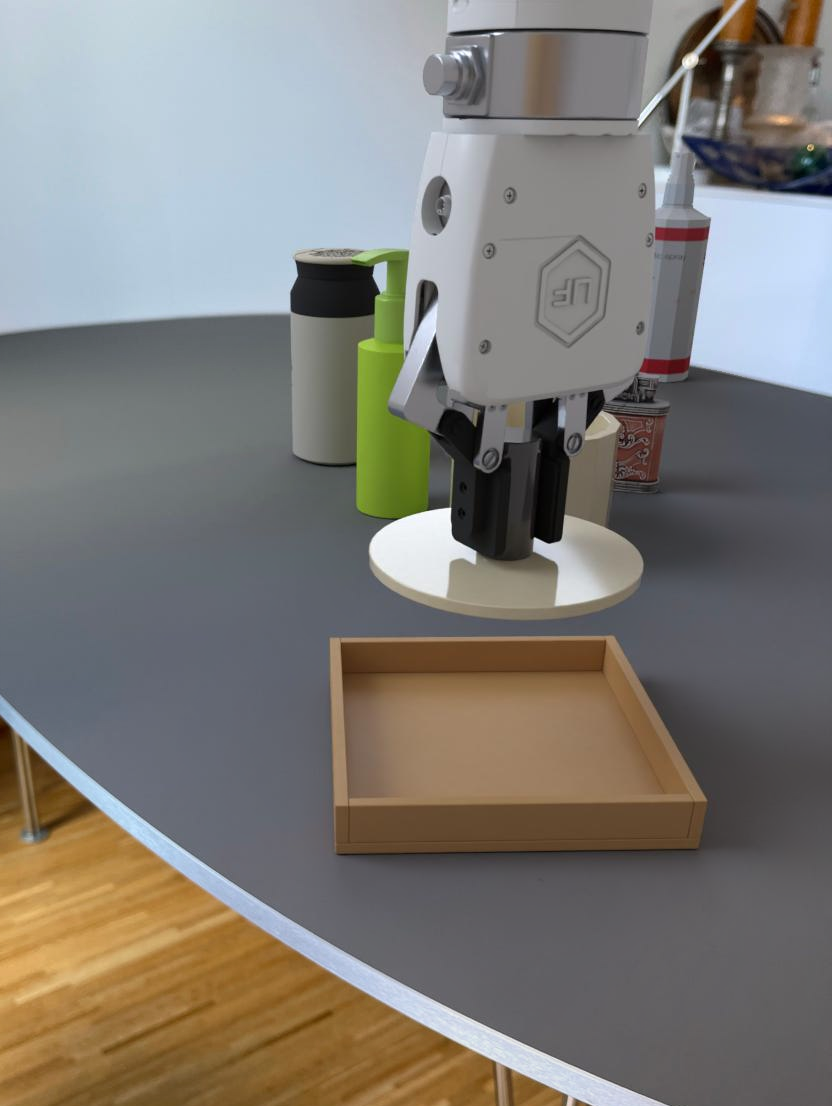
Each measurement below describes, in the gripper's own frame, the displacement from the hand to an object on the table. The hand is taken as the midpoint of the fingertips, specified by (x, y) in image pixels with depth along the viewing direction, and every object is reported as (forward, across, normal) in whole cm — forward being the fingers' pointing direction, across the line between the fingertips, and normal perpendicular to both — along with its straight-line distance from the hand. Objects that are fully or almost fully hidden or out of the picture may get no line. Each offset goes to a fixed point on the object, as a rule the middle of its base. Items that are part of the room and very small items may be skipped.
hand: (506, 537), depth 49 cm
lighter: (+12, +36, +29) cm, 48 cm away
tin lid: (+1, 0, 0) cm, 1 cm away
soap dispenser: (+12, +16, +34) cm, 39 cm away
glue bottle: (+12, +71, +57) cm, 92 cm away
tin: (+12, +21, +22) cm, 32 cm away
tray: (+12, 0, 0) cm, 12 cm away
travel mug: (+12, +20, +48) cm, 54 cm away
